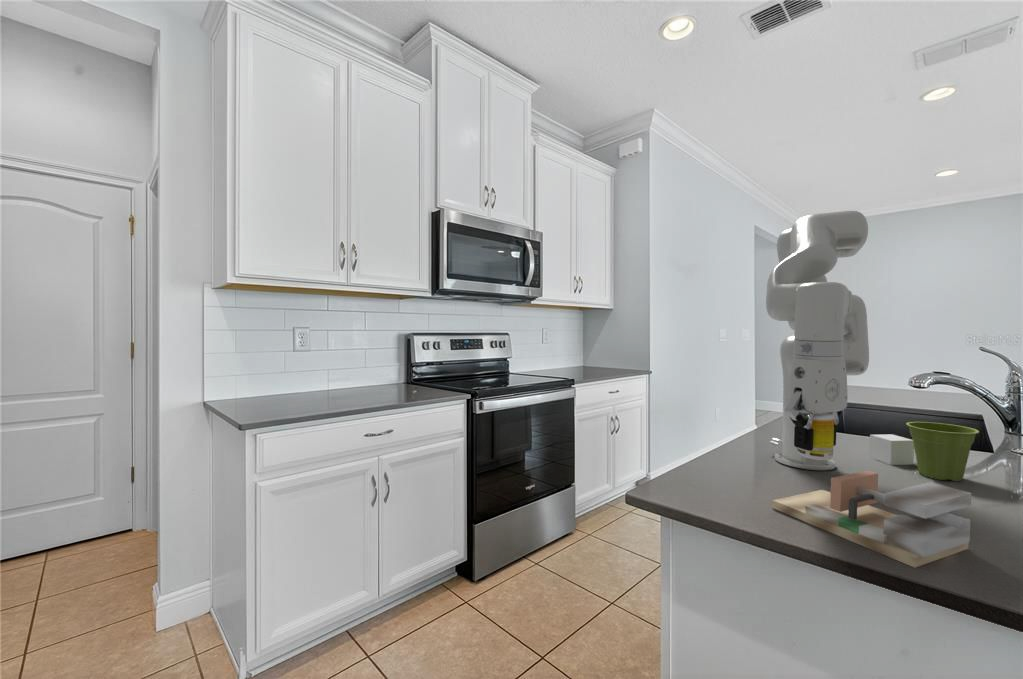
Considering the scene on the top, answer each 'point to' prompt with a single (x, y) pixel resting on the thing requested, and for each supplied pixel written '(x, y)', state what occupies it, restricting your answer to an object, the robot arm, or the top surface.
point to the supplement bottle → (821, 437)
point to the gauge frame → (891, 522)
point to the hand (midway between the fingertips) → (814, 445)
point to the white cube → (892, 449)
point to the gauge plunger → (868, 496)
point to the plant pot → (941, 449)
